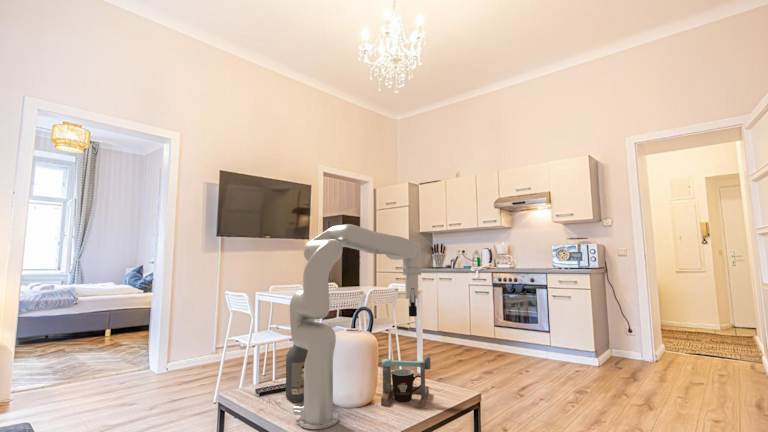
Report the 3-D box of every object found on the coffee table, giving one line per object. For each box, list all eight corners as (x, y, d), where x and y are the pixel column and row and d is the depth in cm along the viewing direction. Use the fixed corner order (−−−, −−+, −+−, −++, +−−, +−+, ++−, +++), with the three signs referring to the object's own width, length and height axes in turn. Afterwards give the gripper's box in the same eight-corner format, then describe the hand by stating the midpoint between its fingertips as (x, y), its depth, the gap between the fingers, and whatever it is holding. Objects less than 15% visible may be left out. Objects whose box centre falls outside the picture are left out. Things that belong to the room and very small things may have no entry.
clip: (381, 368, 149) (381, 357, 150) (383, 365, 153) (382, 354, 153) (430, 370, 145) (429, 358, 146) (430, 367, 149) (430, 356, 149)
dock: (379, 405, 143) (378, 364, 144) (389, 390, 158) (388, 353, 160) (423, 408, 139) (422, 366, 141) (429, 393, 155) (428, 355, 156)
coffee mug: (387, 401, 146) (387, 373, 148) (397, 394, 154) (397, 368, 155) (416, 406, 141) (415, 377, 142) (425, 398, 149) (424, 371, 150)
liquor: (283, 397, 153) (284, 318, 156) (305, 392, 158) (305, 316, 161) (293, 404, 145) (294, 321, 149) (315, 398, 151) (316, 318, 154)
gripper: (403, 271, 173) (403, 313, 171) (402, 272, 158) (403, 318, 156) (420, 270, 172) (421, 313, 170) (421, 271, 158) (422, 318, 155)
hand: (412, 316), depth 163 cm, fingers closed
